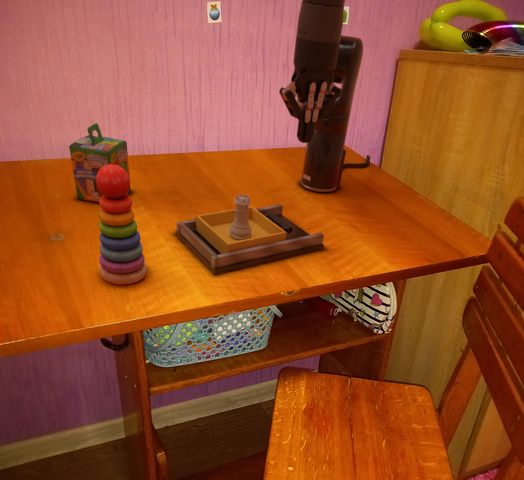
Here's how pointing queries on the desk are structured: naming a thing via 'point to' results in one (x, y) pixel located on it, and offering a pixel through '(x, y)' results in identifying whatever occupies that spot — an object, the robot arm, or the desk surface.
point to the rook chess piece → (241, 219)
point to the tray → (262, 228)
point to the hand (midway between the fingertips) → (304, 141)
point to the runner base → (222, 263)
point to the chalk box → (95, 161)
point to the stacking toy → (118, 229)
